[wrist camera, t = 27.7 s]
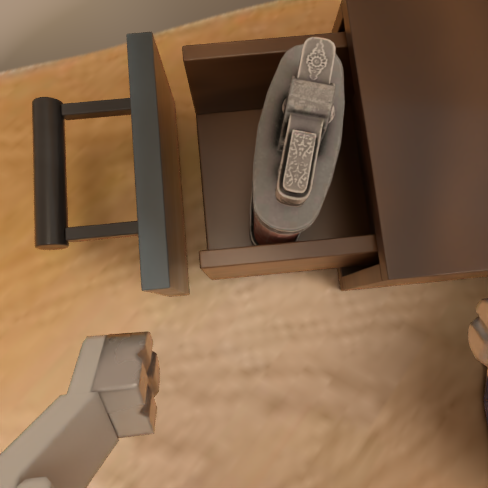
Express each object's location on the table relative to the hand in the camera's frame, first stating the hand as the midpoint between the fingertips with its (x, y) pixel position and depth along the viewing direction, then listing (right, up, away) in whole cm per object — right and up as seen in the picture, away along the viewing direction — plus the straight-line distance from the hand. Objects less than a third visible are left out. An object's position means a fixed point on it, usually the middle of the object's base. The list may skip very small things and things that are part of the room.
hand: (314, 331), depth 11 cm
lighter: (0, +5, +14) cm, 15 cm away
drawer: (-3, +5, +15) cm, 16 cm away
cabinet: (+10, +6, +16) cm, 20 cm away
